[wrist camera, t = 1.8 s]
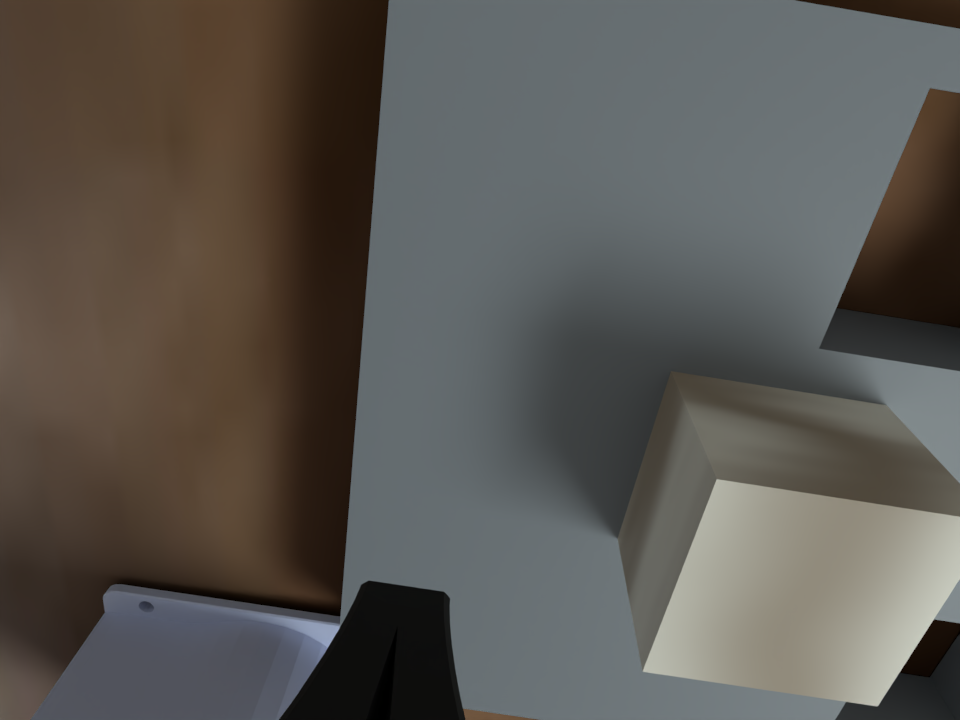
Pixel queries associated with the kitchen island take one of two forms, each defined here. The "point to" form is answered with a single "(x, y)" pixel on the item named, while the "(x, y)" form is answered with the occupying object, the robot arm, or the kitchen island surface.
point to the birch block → (786, 540)
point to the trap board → (617, 308)
